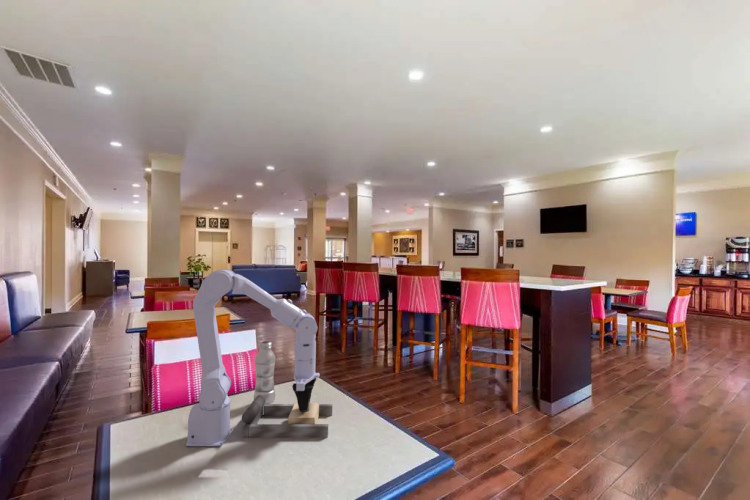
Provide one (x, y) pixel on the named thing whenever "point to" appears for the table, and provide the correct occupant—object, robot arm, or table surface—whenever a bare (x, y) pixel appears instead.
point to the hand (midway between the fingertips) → (304, 407)
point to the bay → (281, 430)
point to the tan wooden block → (304, 414)
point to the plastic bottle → (265, 372)
